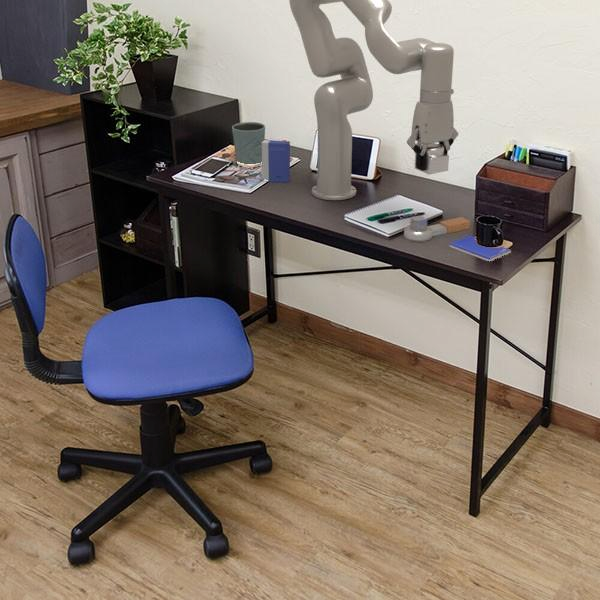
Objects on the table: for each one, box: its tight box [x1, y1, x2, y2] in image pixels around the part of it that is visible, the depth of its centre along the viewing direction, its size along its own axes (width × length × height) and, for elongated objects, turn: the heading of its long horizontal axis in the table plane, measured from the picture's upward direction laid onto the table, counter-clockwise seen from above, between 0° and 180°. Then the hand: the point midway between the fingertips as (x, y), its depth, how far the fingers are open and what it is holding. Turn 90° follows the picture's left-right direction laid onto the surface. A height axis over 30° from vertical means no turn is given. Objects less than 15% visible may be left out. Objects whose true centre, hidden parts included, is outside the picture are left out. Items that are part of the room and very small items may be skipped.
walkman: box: [261, 139, 291, 183], centre depth 270 cm, size 8×3×12 cm, turn 79°
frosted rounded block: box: [414, 142, 450, 176], centre depth 232 cm, size 6×6×6 cm
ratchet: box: [403, 215, 471, 243], centre depth 234 cm, size 18×7×5 cm, turn 119°
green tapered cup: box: [231, 121, 266, 164], centre depth 284 cm, size 10×10×12 cm
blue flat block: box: [449, 235, 512, 263], centre depth 225 cm, size 2×8×12 cm
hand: (431, 166), depth 233 cm, fingers closed on frosted rounded block, 6 cm apart
